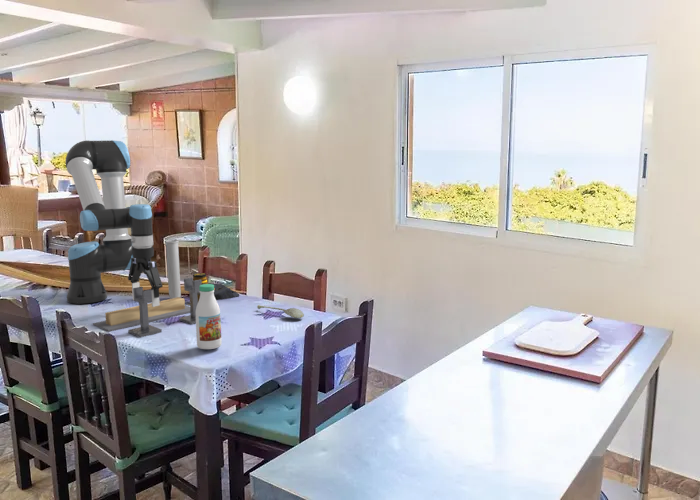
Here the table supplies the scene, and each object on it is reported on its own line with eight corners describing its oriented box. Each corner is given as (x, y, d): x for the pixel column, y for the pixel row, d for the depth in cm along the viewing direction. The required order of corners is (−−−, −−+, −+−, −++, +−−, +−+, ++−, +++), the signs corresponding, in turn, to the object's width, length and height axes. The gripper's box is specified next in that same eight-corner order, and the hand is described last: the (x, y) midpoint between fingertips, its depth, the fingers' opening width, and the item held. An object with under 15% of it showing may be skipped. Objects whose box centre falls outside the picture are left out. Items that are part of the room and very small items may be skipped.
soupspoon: (295, 321, 223) (307, 317, 228) (295, 313, 222) (307, 309, 228) (252, 310, 236) (264, 306, 241) (252, 302, 235) (264, 298, 240)
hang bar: (106, 323, 216) (105, 312, 215) (179, 307, 238) (178, 297, 237) (111, 325, 213) (110, 314, 213) (184, 308, 236) (184, 298, 235)
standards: (128, 332, 208) (125, 289, 205) (197, 315, 228) (195, 276, 226) (140, 337, 203) (137, 292, 200) (210, 319, 223) (208, 279, 221)
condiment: (212, 301, 251) (210, 272, 249) (203, 306, 243) (201, 277, 241) (195, 300, 252) (194, 272, 250) (186, 305, 244) (184, 276, 242)
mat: (92, 325, 217) (92, 323, 217) (180, 305, 243) (180, 303, 243) (108, 332, 209) (108, 329, 209) (197, 311, 235) (197, 309, 235)
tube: (183, 300, 252) (180, 241, 248) (171, 302, 249) (168, 242, 245) (178, 297, 256) (175, 239, 252) (166, 299, 253) (163, 240, 249)
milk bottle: (192, 348, 191) (188, 286, 188) (206, 341, 198) (203, 281, 195) (212, 351, 189) (210, 288, 185) (226, 343, 196) (223, 283, 192)
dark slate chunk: (222, 288, 276) (222, 278, 275) (241, 297, 258) (241, 287, 257) (189, 292, 268) (189, 282, 267) (207, 303, 250) (206, 291, 249)
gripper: (116, 244, 227) (119, 298, 231) (151, 252, 211) (154, 310, 214) (134, 241, 232) (138, 295, 236) (170, 249, 216) (173, 306, 220)
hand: (146, 302), depth 225 cm, fingers open, 13 cm apart
